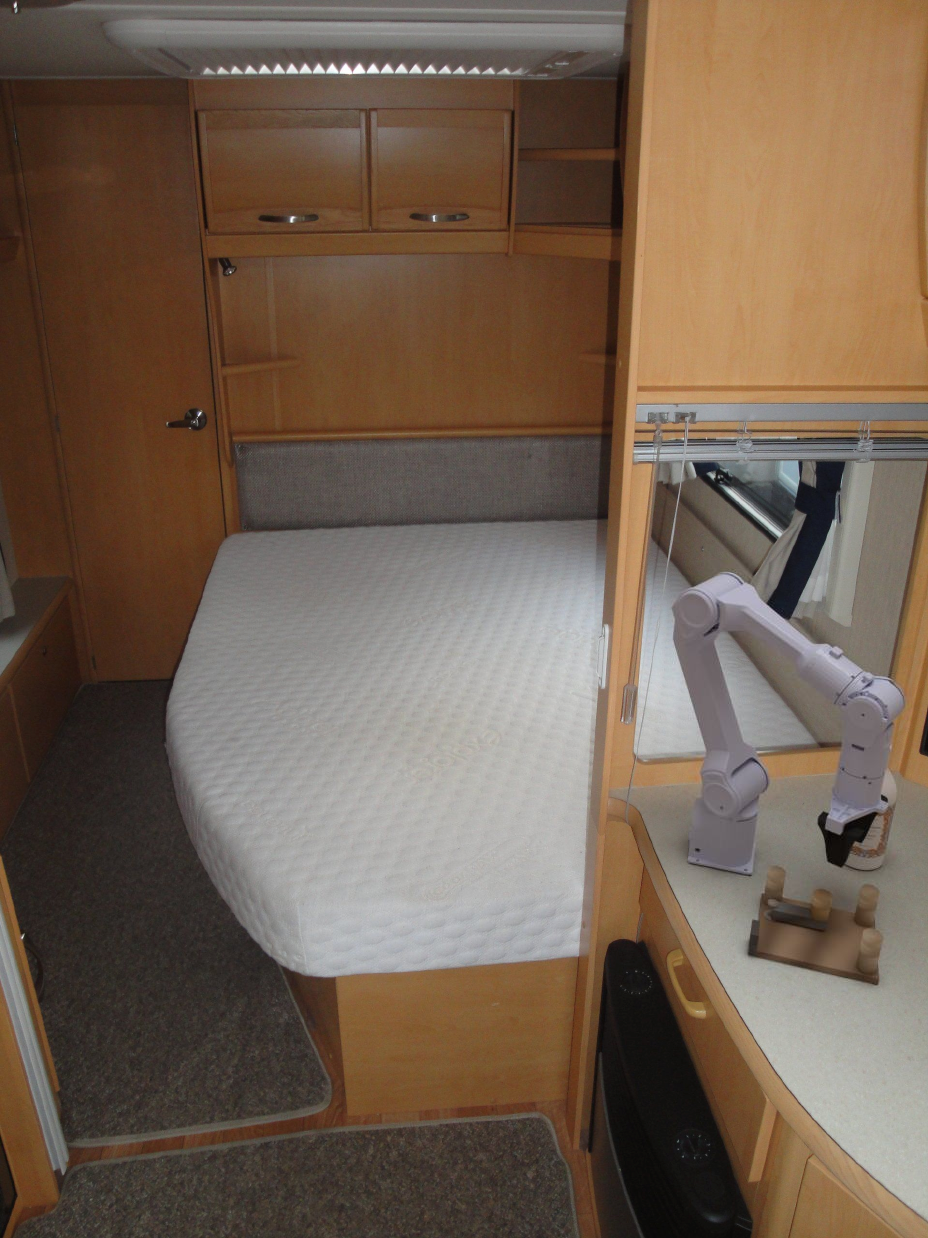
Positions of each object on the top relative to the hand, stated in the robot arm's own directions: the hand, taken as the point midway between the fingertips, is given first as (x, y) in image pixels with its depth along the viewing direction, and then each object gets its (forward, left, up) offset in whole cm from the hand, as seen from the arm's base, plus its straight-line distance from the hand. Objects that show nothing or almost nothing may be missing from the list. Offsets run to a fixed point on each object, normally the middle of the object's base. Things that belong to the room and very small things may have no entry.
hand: (845, 851), depth 127 cm
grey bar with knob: (-5, -6, -9) cm, 12 cm away
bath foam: (+4, +13, -10) cm, 17 cm away
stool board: (-2, -7, -10) cm, 12 cm away
